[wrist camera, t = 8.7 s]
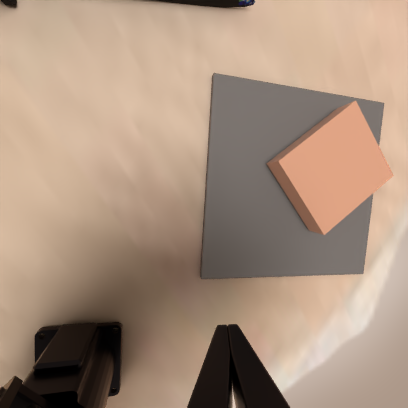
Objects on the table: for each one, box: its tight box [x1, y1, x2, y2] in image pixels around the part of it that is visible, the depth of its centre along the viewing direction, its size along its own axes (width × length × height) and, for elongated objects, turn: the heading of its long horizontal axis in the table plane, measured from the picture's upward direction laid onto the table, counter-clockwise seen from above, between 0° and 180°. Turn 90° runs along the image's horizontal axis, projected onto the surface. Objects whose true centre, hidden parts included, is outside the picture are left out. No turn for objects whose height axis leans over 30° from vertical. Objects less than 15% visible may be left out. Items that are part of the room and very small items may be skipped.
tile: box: [267, 101, 394, 235], centre depth 20 cm, size 2×8×9 cm
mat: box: [200, 73, 384, 279], centre depth 21 cm, size 18×18×1 cm
